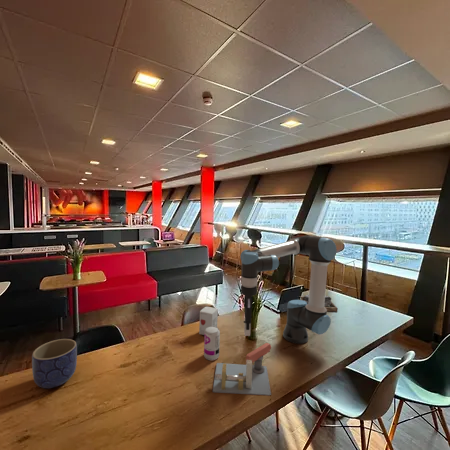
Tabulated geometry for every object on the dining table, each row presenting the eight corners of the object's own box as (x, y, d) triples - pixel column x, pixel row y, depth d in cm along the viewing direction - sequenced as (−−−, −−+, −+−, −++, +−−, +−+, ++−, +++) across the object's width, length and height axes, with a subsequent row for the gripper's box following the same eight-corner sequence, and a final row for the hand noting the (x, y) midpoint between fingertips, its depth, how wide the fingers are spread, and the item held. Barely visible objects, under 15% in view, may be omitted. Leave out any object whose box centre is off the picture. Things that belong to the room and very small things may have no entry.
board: (266, 368, 124) (266, 354, 124) (271, 397, 105) (271, 381, 104) (216, 364, 126) (217, 351, 125) (212, 393, 106) (213, 377, 106)
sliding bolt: (251, 383, 111) (251, 360, 110) (251, 388, 108) (252, 364, 107) (214, 380, 112) (215, 357, 111) (214, 385, 109) (214, 362, 108)
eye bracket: (242, 381, 113) (243, 364, 112) (242, 390, 107) (243, 373, 106) (222, 379, 113) (222, 363, 113) (221, 389, 107) (221, 372, 107)
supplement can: (207, 362, 127) (208, 334, 126) (201, 354, 134) (202, 327, 133) (221, 358, 131) (222, 331, 130) (215, 350, 138) (215, 324, 137)
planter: (43, 399, 100) (42, 364, 99) (26, 383, 109) (25, 350, 108) (84, 376, 114) (84, 345, 113) (66, 363, 123) (65, 334, 122)
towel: (332, 305, 206) (332, 295, 205) (317, 308, 196) (317, 298, 196) (316, 299, 219) (317, 291, 219) (302, 302, 209) (302, 293, 209)
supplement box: (198, 334, 155) (199, 311, 154) (205, 327, 164) (205, 305, 162) (211, 337, 152) (212, 313, 151) (217, 330, 160) (218, 308, 159)
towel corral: (327, 301, 218) (327, 297, 218) (337, 311, 196) (337, 308, 196) (298, 299, 219) (299, 296, 219) (305, 310, 197) (305, 306, 197)
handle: (266, 348, 129) (266, 340, 129) (273, 352, 126) (273, 344, 125) (243, 362, 117) (244, 353, 116) (251, 366, 113) (251, 358, 113)
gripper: (240, 280, 124) (239, 325, 126) (241, 290, 108) (239, 342, 110) (255, 280, 123) (254, 326, 125) (258, 291, 108) (256, 343, 109)
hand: (247, 333), depth 118 cm, fingers open, 3 cm apart
